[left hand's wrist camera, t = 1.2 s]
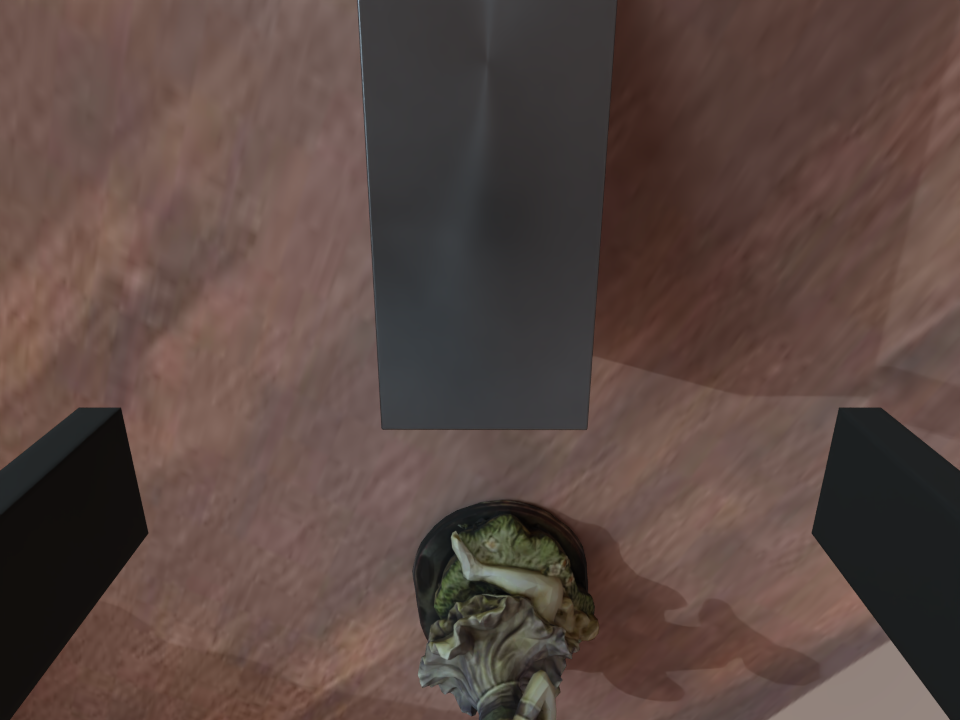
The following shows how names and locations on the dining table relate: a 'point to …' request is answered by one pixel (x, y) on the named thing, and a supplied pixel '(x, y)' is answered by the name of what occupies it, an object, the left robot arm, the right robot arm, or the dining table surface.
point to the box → (485, 206)
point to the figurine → (502, 608)
